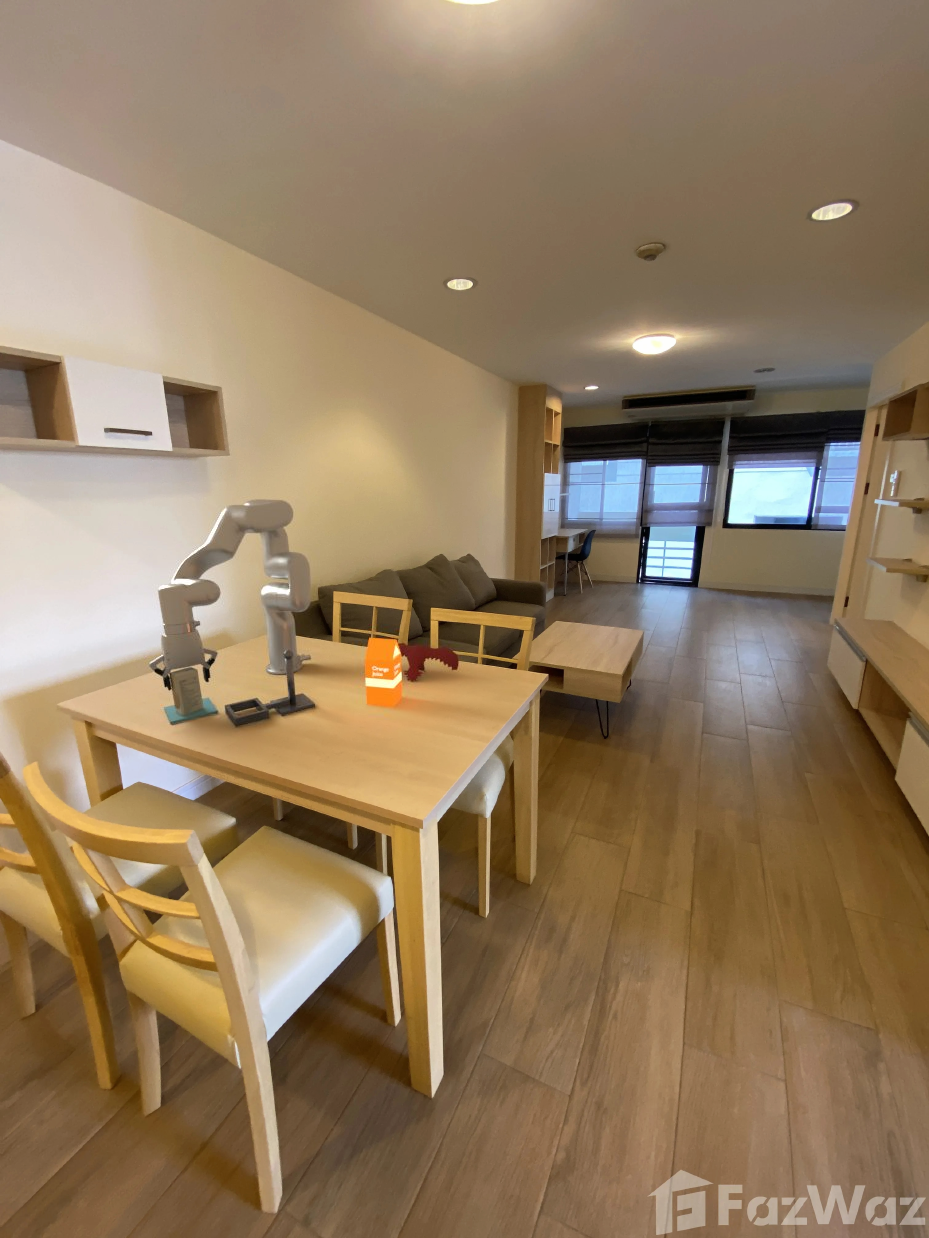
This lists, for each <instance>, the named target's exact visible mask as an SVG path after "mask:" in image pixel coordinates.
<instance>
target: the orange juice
mask: <svg viewBox="0 0 929 1238" xmlns="http://www.w3.org/2000/svg"><path fill="white" fill-rule="evenodd" d="M398 644H399V643H398V640H397V639H393V638H392V639H390V638H377V637H369V639H368V643H367V647H366V653H365V658H364V668H365V670H364V671H365V692H366V705H370V706H380V707H381V706H382V707H392V708H394V707H395V706H396V705H398V702H400V700H402V698H403V697H402V696H403V691H402V689H403V685H402V684H403V683H402V677H403V676H402V656H401V652H400V649H399V646H398Z"/></svg>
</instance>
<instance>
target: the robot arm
mask: <svg viewBox="0 0 929 1238" xmlns="http://www.w3.org/2000/svg"><path fill="white" fill-rule="evenodd" d="M293 518H294V509H293V507H292V505H291V504H290V503H289V502H287V501H286V500H282V499H265V498H264V499H261V498H260V499H251V500H247V501H246V502H244V504H232V505H231V504H230V505H228V506H226V507H225V508H223V510H222V511H221V513H220V515H219V517H218V519H217V520H216V523H215V524H214V527H213V529H212V530H211V532H210V534H209V536H208V538H207V540H206V541H205V543H204V544H202V545H201V546H199V548H198V549H196V550H195V551H193V552H192V553H191V554H190V555H189V556H188V557H186V558H185V559H184V560H183V561H182V562H181V564H180V565H179V567H178V568H177V570H176V572H175V574H174V575H173V578H172V579H171V582H170V583H167V584H163V585H160V586H159V588H158V589H157V590H158V591H157V594H158V595H157V596H158V600H159V606H160V613H161V619H162V625H163V631H164V632H163V633H161V636H160V638H161V639H160V642H161V643H160V645H161V655H159V656H158V657H156V658H154V659H153V660H152V661H151V662H149V663H148V666H149V668H150V669H152V670H153V672H154V673H155V674H156V675H158V676H160V677H162V680H163V685H164V688H166V689H167V690H168V691H172V687H171V681H170V675H169V673H170V672H172V670H180V669H184V668H188V667H194V666H198V665H201V666H202V675H203V679H204V682H205V683H210V680H209V679H211V670H210V669H211V666H212V665H214V663H215V662H216V658H217V657H218V654H219V653H218V652H217V650H215V649H209V648H206V647H204V646H203V642H202V638H201V635H200V633H199V630H198V629H197V627H198V626H201V621H200V620H195V619H194V611H193V608H194V607H205V606H206V607H207V606H210V605H213V604H215V603H216V602H217V601H218V600H219V599H220V597H221V588H220V587H219V585H218V584H217V583H216V582H215V581H213V580H210V579H204V578H201V577H202V575H203V574H204V573H206V572H207V571H208V570H210V569H212V568H214V567H216V566H218V565H221V564H223V563H225V562H228V561H230V560H231V559H233V558H234V557H235V555H236V553H237V551H238V549H239V547H240V545H241V543H242V541H243V539H244V537H245V536H246V534H259V536H260V539H261V545H262V564H263V570H264V571H263V572H264V574H265V575H266V576H268V578H270V579H271V578H272V579H277V580H286V581H287V580H288V583H287V582H280V581H279V582H278V581H274V582H268V583H267V584H264V586H263V587H262V588H261V590H260V595H259V596H260V602H261V603H260V604H261V606H262V609H263V612H264V616H265V625H266V627H265V628H266V635H267V636H266V637H267V645H268V646H267V647H268V648H267V649H268V656H269V663H268V664H267V665H266V666H265V672H267V673H269V674H271V675H287V674H286V662H285V658H284V656H283V654H284V652H285V651H286V650H291V651H292V652H293V654H294V655H293V658H292V659H293V671H294V673H295V672H298V671H300V670H301V669H303V667H304V666H303V664H304V663H303V661H311V659H312V657H311V654H306V655H305V653H304V654H298V650H297V649H298V648H297V635H296V622H295V618H294V615H293V613H292V612H295V613H302V612H305V611H306V610H307V609H308V608H309V607H310V604H311V601H312V589H311V585H312V584H311V583H312V582H311V566H310V563H309V560H308V558H307V557H306V556H305V555H304V554H302V553H300V552H297V551H290V546H289V537H288V534H287V531H286V529H285V527H287V526H288V525H290V524H291V522H292V521H293ZM205 654H206V655H210V657H209V659H208V660H206V655H205ZM162 662H163V663H162ZM160 663H162V664H163V665H164V667H163V668H162V669H161V668H160V667H158V666H157V665H159V664H160Z"/></svg>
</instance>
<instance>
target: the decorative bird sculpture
mask: <svg viewBox="0 0 929 1238" xmlns="http://www.w3.org/2000/svg"><path fill="white" fill-rule="evenodd" d="M398 646H399V649H400V652H401V658H402V657H405V658H406V660H407V663H408V665H409V668H408V669H407V670H403V672H404V675H405V677H406V678H407V680H408V681H410V682H413V681H415V682H416V681H417V679H419V677H422V675H423V673H424V674H425V673H426V672H427V670H426V667H425V662H426V660H431V661H432V660H435V661H436V662H437V661H438V660H439V663H443V665H444V666H446V665H447V668H451V671H457V670H458V669H459V663H460V662H459V657H458V656H459V655H458V654H457V652H455V651H453V650H452V649H451V648H449V647H446V646H441V647H437V648H436V647H435V648H433V647H429V646H426V645H421V644H417V645H408V644H406V643H405V642H401V643H400V642H399V643H398ZM421 674H422V675H421Z"/></svg>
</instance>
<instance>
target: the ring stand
mask: <svg viewBox="0 0 929 1238" xmlns="http://www.w3.org/2000/svg"><path fill="white" fill-rule="evenodd" d="M293 655H294V654H293V652H292V651H291V650H286V651H285V652H284V654H283V656H284V658H285V662H286V674H285V675H286V682H287V683H286V684H287V693H288V694H287V696H286V697H280V698H276V699H273V700H270V701H269V702H267V703H266V702H265V703H263V702H262V701H261V700H260V699H259V698H258V697H254V698H250V699H246V700H242V701H241V700H240V701H236V702H233V703H228V704H225V705H224V712H225V715H226V716H227V717H228V719H229V720H230V722H231V723H232V724H233V726H234V727H235V728H238V727H242V726H246V725H250V724H254V723H258V722H261V721H265V720H268V719H270V710H275V711H276V712H277V713H278V714H279V715H280V716H281V717H285V716H287V715H291V714H295V713H299V712H303V711H306V710H311V709H314V708H316V703H315V702H314V701H313V700H312V699H310V698H309V697H308V696H307V695H305V694H304V693H298V694H296V685H295V675H294V674H295V672H294V671H293V659H292V658H293ZM254 708H256V710H257V711H254V712H250V713H246V714H242V715H237V714H236V713H238V712H243V711H245V710H251V709H254Z"/></svg>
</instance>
